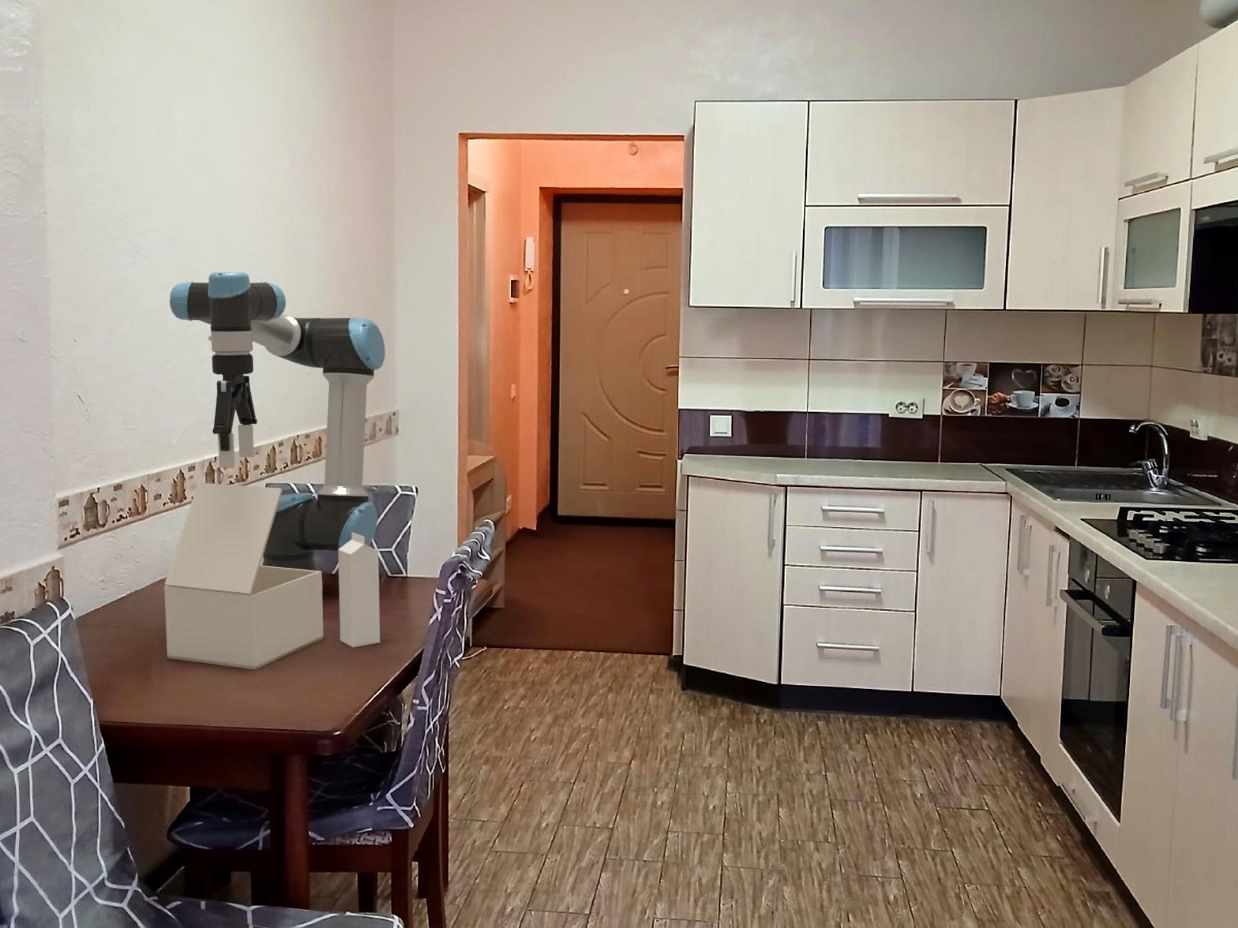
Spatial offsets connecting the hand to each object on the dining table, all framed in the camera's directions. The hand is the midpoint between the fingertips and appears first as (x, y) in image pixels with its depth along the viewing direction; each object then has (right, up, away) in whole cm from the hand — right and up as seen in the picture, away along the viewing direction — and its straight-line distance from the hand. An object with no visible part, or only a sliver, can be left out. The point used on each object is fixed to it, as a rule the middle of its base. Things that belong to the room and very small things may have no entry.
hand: (237, 462), depth 227 cm
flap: (0, -14, -7) cm, 16 cm away
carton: (+1, -37, +2) cm, 37 cm away
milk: (+22, -36, +7) cm, 43 cm away
